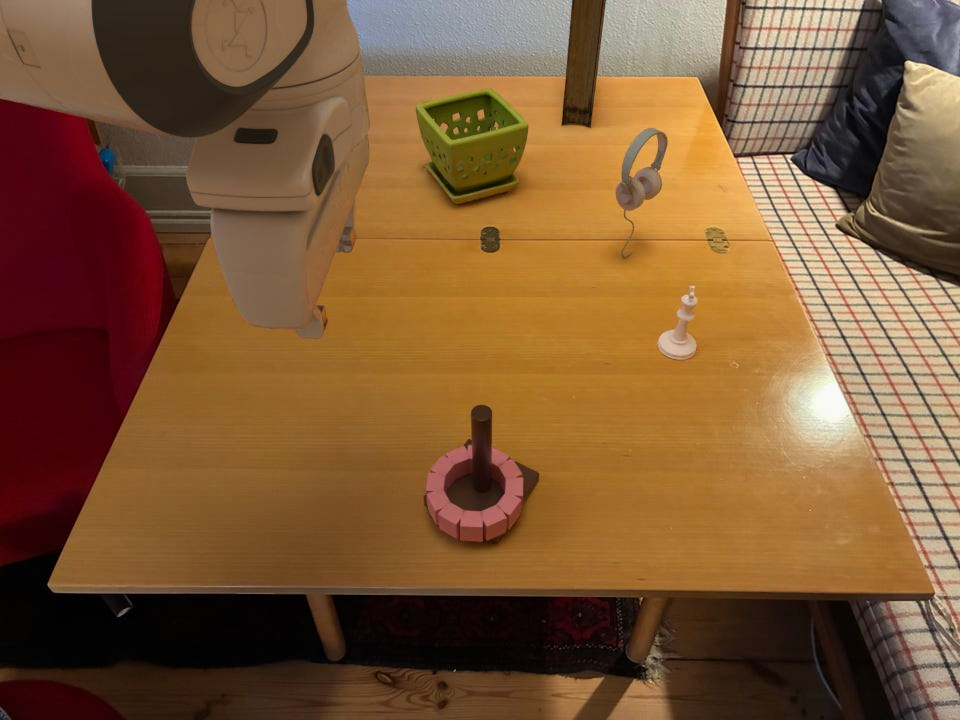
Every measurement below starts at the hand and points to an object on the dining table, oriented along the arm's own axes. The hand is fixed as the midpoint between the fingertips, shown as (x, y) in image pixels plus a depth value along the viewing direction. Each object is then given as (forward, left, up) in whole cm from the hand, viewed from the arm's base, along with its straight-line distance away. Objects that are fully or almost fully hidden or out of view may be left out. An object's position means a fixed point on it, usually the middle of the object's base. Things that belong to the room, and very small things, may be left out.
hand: (329, 286), depth 50 cm
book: (+93, +22, -31) cm, 100 cm away
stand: (+8, -8, -31) cm, 33 cm away
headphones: (+54, -5, -31) cm, 63 cm away
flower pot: (+59, +25, -31) cm, 71 cm away
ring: (+6, -8, -30) cm, 31 cm away
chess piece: (+40, -18, -31) cm, 54 cm away
